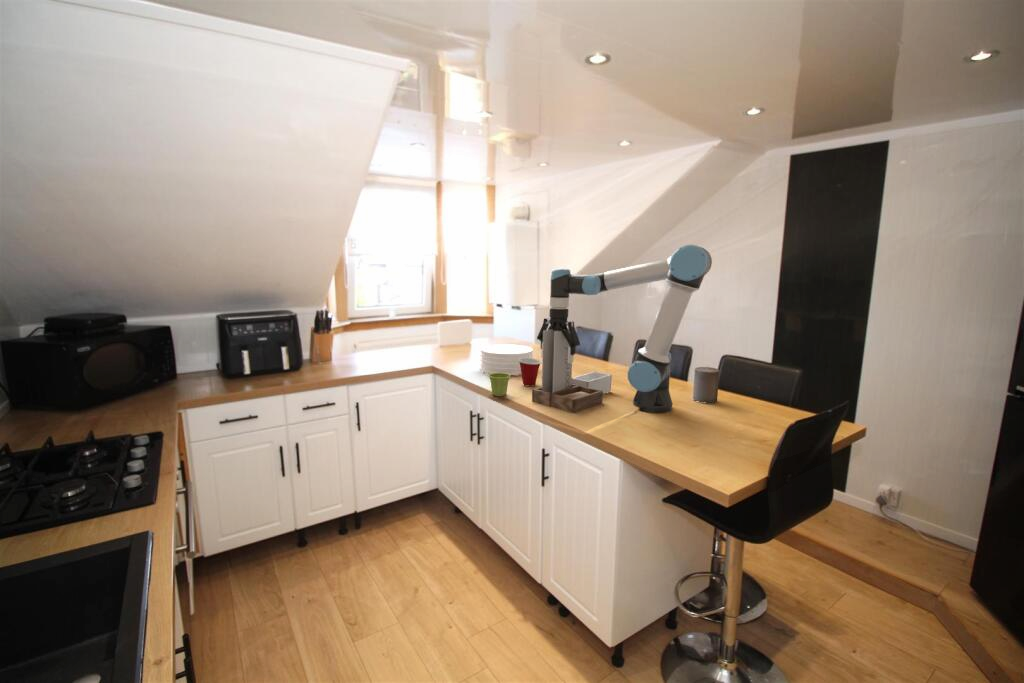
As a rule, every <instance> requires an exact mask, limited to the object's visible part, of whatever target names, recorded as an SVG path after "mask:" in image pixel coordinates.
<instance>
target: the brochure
mask: <svg viewBox="0 0 1024 683" xmlns="http://www.w3.org/2000/svg"><path fill="white" fill-rule="evenodd" d="M568 330H569V329H568ZM569 333H570V332H569ZM569 346H570V345H569V343H568V341H567V340H566V338H565V336H564V334H563V333H562V331H558V330H557V331H554V330H553V329H551V330H548V329H547V330H546V331H543V358H541V361H542V362H541V365H542V366H541V373H542V374H541V387H542V391H544V392H548V393H554V392H557V391H561V390H564V389H567V388H571V379H572V378H573V377H572V374H573V373H572V372H573V371H572V370H573V362H572V363H568V347H569Z"/></svg>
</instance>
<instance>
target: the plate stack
mask: <svg viewBox="0 0 1024 683" xmlns="http://www.w3.org/2000/svg"><path fill="white" fill-rule="evenodd" d="M533 356H534V349H533V347H530V346H527V345H521V344H519V345H518V344H508V343H507V344H505V343H503V344H491V345H485V346H482V347H480V362H479V363H480V364H479V365H480V369H481V370H480V371H481V372H482V371H483V372H482V373H484V372H485V373H484V374H487V373H489V374H492V373H506V374H510V375H515V376H519V375H518V374H521V367H520V362H519V359H521V358H532V359H534V358H533ZM489 374H488V375H489Z"/></svg>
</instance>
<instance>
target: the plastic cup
mask: <svg viewBox="0 0 1024 683" xmlns="http://www.w3.org/2000/svg"><path fill="white" fill-rule="evenodd" d="M532 358H533V357H532ZM532 358H521V359H519V362H520V367H521V375H520V376H521V378H522V380H521V381H522V385H523V384H524V385H523V386H525V385H529V386H528V387H532V386H531V385H535V386H536V383H537V379H538V374H539V370H540V366H541V365H542V360H540V359H537V358H533V359H532Z"/></svg>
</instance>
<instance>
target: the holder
mask: <svg viewBox="0 0 1024 683" xmlns="http://www.w3.org/2000/svg"><path fill="white" fill-rule="evenodd" d="M612 377H613V376H612V374H610V373H605V372H600V371H591V372H587V373H585V374H580V375H578V376H574V377H572V379H571V384H575V385H580V386H584V387H588V388H592V389H597V390H601V391H603V394H604V395H606V394H605V393H607V392H610V391H611V392H612ZM611 392H610V393H611ZM607 394H608V393H607Z"/></svg>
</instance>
